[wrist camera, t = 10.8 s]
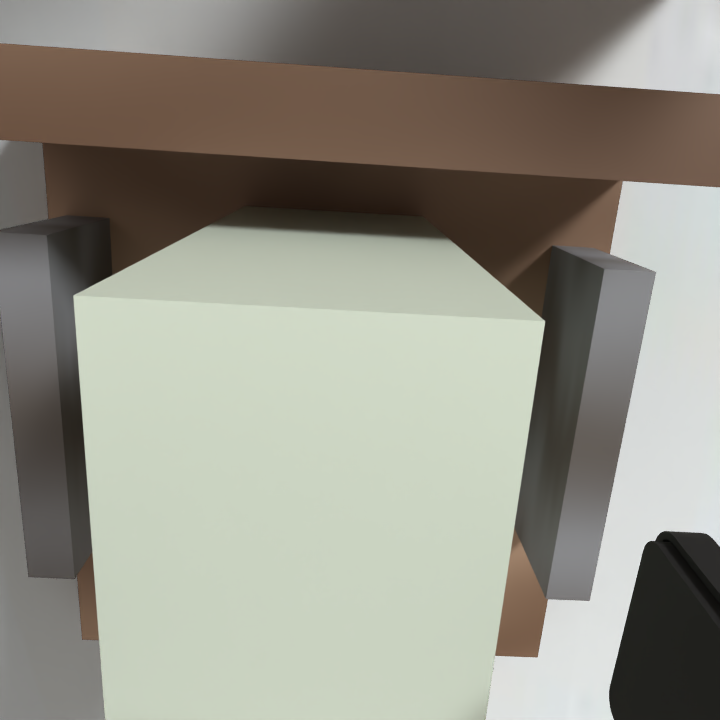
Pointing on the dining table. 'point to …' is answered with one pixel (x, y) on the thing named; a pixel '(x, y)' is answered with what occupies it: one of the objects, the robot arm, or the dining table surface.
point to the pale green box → (303, 469)
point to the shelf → (344, 194)
